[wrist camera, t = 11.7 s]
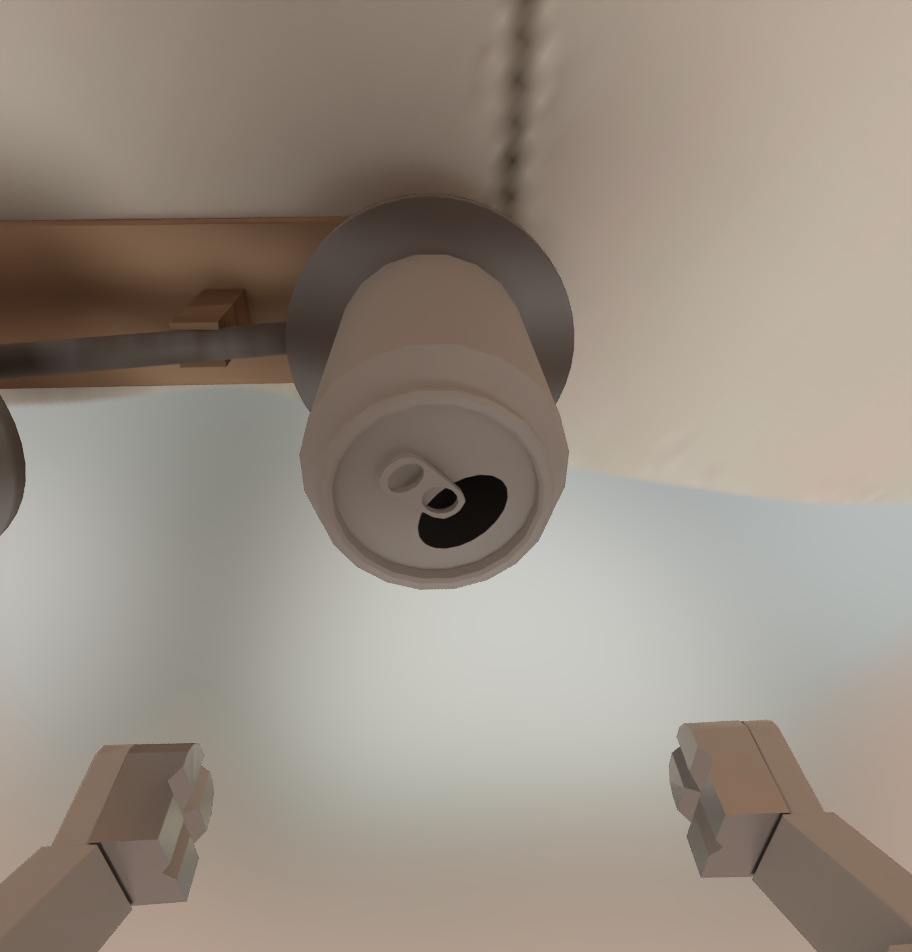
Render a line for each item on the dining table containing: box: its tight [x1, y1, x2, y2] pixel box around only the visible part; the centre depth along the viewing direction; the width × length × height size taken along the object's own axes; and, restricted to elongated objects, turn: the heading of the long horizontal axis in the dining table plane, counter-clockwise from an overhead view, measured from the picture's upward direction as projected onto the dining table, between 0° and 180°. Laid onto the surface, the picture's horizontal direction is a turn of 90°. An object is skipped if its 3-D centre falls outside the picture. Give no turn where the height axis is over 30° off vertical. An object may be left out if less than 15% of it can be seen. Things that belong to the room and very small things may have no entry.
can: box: [300, 255, 569, 590], centre depth 22 cm, size 8×8×12 cm
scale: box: [0, 194, 574, 535], centre depth 27 cm, size 12×32×15 cm, turn 90°
